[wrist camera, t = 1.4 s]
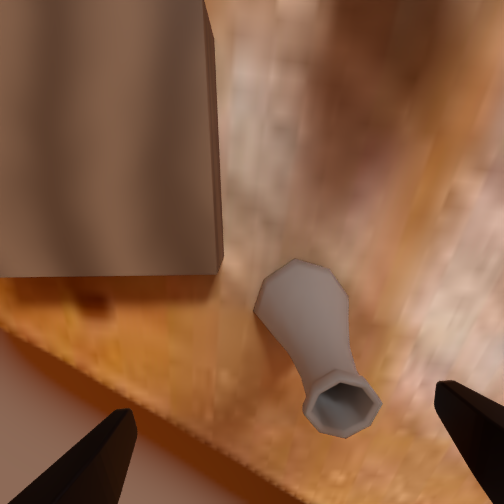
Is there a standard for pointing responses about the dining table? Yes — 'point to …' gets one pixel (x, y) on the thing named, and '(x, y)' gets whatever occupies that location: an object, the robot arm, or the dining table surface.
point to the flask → (318, 345)
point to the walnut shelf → (108, 139)
